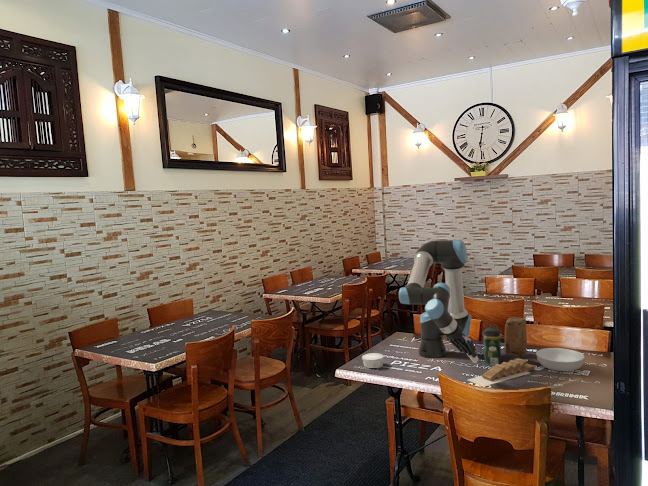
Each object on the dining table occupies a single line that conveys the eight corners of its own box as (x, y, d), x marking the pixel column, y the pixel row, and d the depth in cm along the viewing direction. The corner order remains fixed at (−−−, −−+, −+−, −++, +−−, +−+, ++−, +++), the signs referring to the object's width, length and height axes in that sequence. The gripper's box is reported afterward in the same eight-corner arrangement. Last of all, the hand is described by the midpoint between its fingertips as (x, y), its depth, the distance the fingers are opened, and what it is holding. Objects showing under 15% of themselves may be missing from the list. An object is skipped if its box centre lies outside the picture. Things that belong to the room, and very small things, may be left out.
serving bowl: (526, 366, 237) (526, 352, 236) (557, 358, 245) (557, 345, 244) (562, 379, 218) (562, 364, 217) (595, 370, 226) (594, 356, 225)
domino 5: (519, 370, 224) (534, 365, 229) (510, 367, 229) (525, 363, 233) (519, 373, 225) (534, 369, 229) (510, 370, 229) (525, 366, 233)
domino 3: (505, 374, 220) (519, 362, 224) (496, 371, 225) (510, 359, 229) (506, 377, 221) (520, 365, 225) (497, 373, 225) (511, 362, 229)
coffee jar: (484, 359, 249) (483, 324, 248) (501, 360, 246) (500, 325, 245) (484, 366, 240) (483, 329, 239) (501, 367, 237) (500, 330, 236)
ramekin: (360, 369, 246) (359, 359, 245) (365, 362, 256) (365, 352, 256) (381, 370, 242) (381, 360, 241) (386, 363, 252) (386, 353, 252)
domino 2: (497, 376, 218) (512, 364, 222) (489, 373, 223) (503, 361, 227) (498, 379, 219) (513, 367, 223) (490, 376, 223) (504, 364, 227)
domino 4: (512, 372, 222) (526, 360, 226) (503, 369, 227) (517, 358, 231) (513, 375, 223) (526, 363, 227) (504, 372, 227) (518, 361, 231)
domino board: (482, 388, 211) (482, 386, 211) (466, 381, 220) (466, 379, 220) (531, 374, 224) (530, 372, 224) (513, 369, 233) (513, 367, 233)
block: (527, 354, 253) (527, 317, 252) (525, 358, 247) (524, 320, 246) (506, 352, 259) (505, 315, 258) (503, 356, 253) (502, 319, 251)
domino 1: (489, 378, 216) (504, 366, 220) (481, 375, 221) (496, 363, 225) (491, 381, 217) (505, 369, 221) (482, 378, 221) (497, 366, 225)
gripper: (434, 333, 212) (461, 365, 221) (458, 336, 201) (485, 369, 210) (441, 319, 215) (467, 352, 224) (465, 322, 205) (491, 355, 214)
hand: (476, 360), depth 217 cm, fingers closed
